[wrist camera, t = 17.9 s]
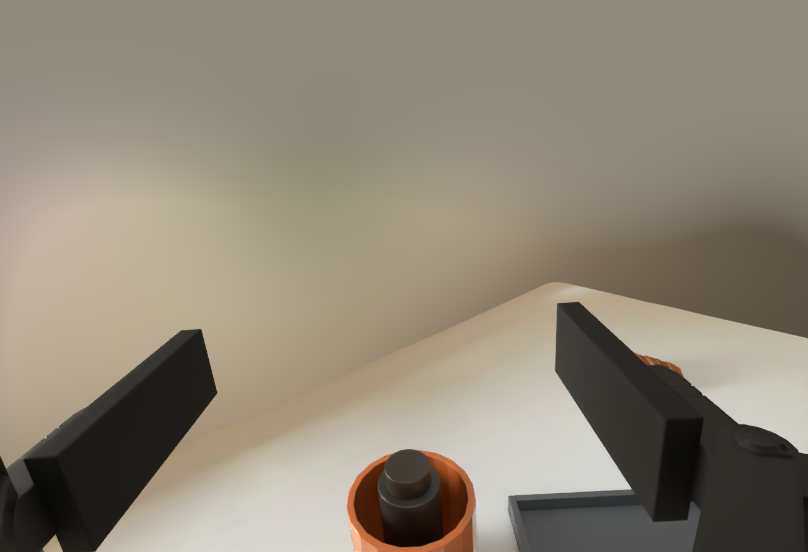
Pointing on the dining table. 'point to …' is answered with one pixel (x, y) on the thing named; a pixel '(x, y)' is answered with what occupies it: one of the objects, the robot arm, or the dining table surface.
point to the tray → (596, 524)
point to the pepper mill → (410, 500)
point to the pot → (456, 510)
